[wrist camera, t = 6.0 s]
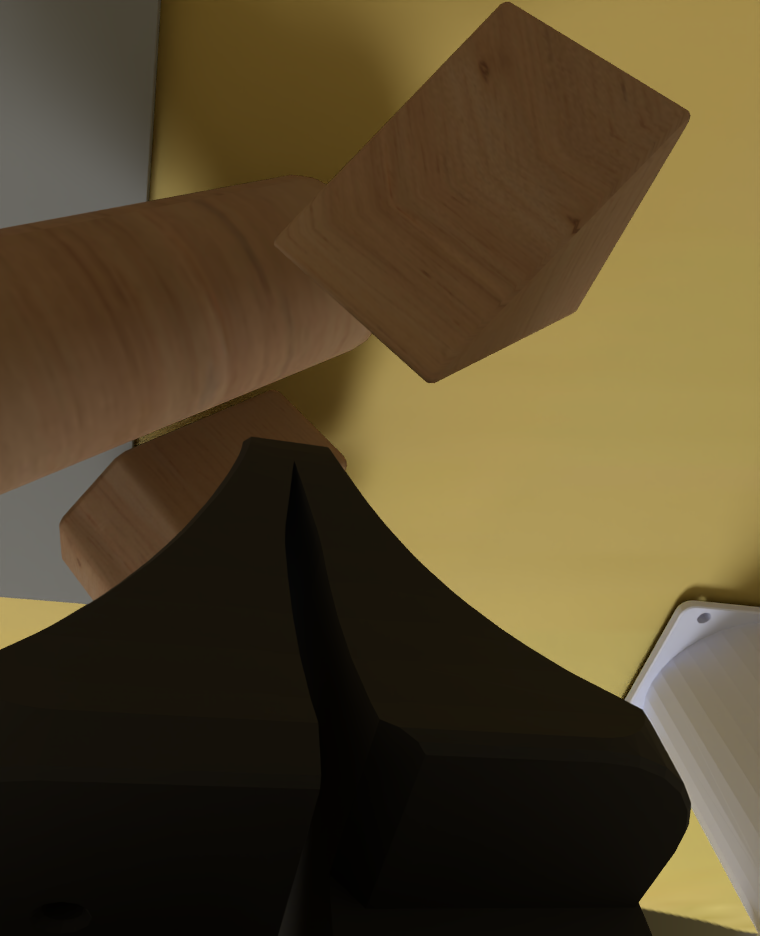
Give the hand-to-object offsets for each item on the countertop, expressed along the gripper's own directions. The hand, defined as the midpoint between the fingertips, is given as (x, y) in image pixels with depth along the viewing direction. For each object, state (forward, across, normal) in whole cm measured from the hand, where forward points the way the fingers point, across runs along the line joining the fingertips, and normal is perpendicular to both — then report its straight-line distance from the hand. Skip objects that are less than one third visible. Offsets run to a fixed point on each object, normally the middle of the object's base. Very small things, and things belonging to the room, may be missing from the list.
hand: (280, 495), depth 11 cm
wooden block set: (+5, -2, +1) cm, 6 cm away
